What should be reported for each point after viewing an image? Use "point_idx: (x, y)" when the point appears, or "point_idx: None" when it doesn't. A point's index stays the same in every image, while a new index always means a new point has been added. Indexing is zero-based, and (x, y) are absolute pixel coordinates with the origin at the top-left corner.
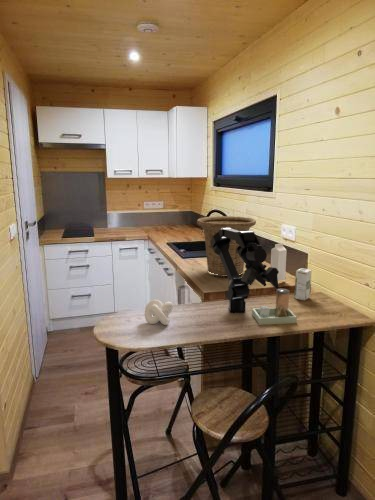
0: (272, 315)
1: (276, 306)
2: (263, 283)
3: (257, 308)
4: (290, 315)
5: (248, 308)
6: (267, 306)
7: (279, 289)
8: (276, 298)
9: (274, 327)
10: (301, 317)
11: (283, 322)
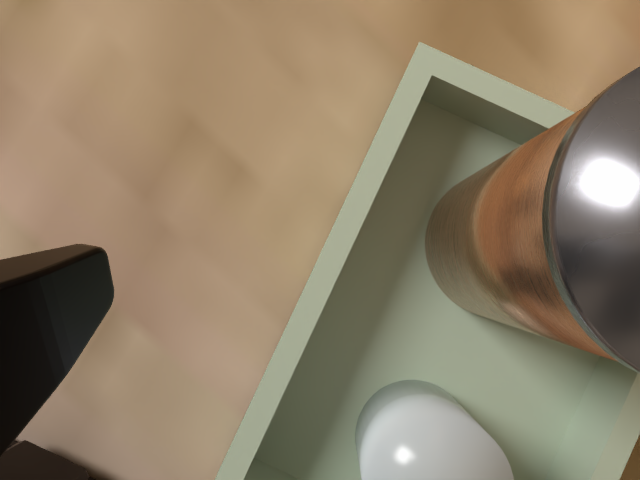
0: (382, 280)
1: (533, 333)
2: (51, 349)
3: (241, 431)
4: None
5: None
6: (422, 421)
7: (615, 228)
8: (572, 345)
9: (624, 475)
10: (566, 4)
11: None
